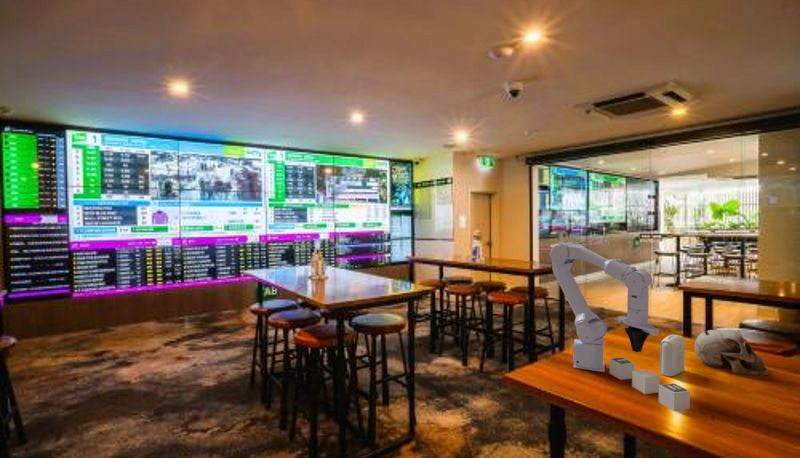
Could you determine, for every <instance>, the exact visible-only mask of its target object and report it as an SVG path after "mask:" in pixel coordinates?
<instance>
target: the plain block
mask: <svg viewBox="0 0 800 458" xmlns="http://www.w3.org/2000/svg"><path fill="white" fill-rule="evenodd" d="M631 380H632V381H631V387H632V388H634V389H635V390H637V391H639V392H640V393H642V394H644V395H645V394H646V395H648V394H649V395H650V394H657V393H658V394H659V385H661V383H660V382H661V376H660V375H659V374H657V373H655V372H653V371H651V370H649V369H637V370H634V371H632V379H631Z"/></svg>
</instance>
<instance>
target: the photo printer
mask: <svg viewBox="0 0 800 458" xmlns="http://www.w3.org/2000/svg"><path fill="white" fill-rule="evenodd" d="M659 346H660V347H659V348H660V350H659V374H661V375H663V376H665V377H674V376H676V375H679V374H680V373H682V372H684V371H685V360H686V359H685V353H686V352H685V350H686V341H685V339H684V337H683V336H681V335H677V334H671V335H668V336H666V337H664V338H663V339H662V341H661V342H660V345H659Z"/></svg>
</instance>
